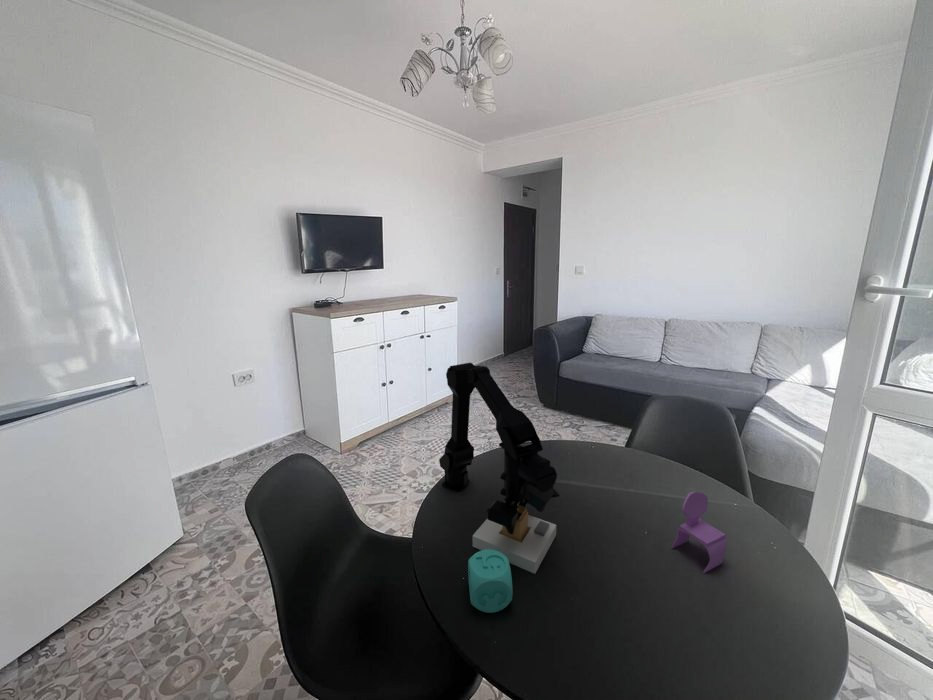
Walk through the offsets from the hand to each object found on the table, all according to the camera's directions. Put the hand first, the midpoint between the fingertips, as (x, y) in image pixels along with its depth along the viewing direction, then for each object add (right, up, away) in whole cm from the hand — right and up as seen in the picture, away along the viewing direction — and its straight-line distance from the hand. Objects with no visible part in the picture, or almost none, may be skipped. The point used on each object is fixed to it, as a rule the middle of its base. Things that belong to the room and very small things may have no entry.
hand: (515, 527), depth 92 cm
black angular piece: (+10, 0, +20) cm, 22 cm away
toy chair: (+41, -5, -5) cm, 42 cm away
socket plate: (0, -4, +1) cm, 4 cm away
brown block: (0, -2, 0) cm, 2 cm away
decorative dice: (-7, -8, -14) cm, 18 cm away
